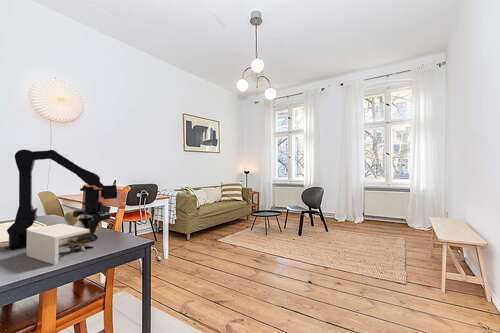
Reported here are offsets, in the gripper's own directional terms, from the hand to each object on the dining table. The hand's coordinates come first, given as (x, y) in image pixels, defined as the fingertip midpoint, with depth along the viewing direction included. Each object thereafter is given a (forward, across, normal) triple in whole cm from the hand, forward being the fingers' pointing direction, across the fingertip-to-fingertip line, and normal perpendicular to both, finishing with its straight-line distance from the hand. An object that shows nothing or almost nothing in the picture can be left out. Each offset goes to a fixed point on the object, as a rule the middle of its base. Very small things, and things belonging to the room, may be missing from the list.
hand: (90, 233), depth 114 cm
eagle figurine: (+2, -13, +12) cm, 18 cm away
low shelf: (+2, -10, +19) cm, 22 cm away
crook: (+2, -4, +9) cm, 10 cm away
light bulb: (+2, +18, -2) cm, 19 cm away
